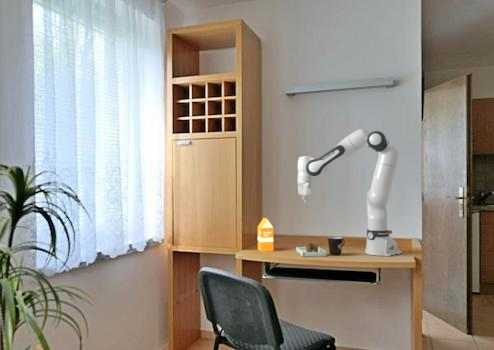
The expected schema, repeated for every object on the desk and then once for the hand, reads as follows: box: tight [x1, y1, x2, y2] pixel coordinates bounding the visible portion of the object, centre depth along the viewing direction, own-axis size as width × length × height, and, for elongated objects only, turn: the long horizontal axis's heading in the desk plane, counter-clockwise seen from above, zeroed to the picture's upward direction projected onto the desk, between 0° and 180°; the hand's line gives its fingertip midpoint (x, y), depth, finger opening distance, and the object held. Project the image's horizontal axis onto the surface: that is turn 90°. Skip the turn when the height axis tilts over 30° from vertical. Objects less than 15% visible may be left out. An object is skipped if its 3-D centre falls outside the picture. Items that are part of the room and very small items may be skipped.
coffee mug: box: [327, 236, 346, 257], centre depth 247 cm, size 12×9×10 cm
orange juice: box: [257, 217, 274, 253], centre depth 262 cm, size 8×9×20 cm
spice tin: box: [305, 243, 319, 252], centre depth 249 cm, size 5×5×8 cm
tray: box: [295, 246, 328, 258], centre depth 251 cm, size 14×19×2 cm
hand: (304, 202), depth 271 cm, fingers closed
